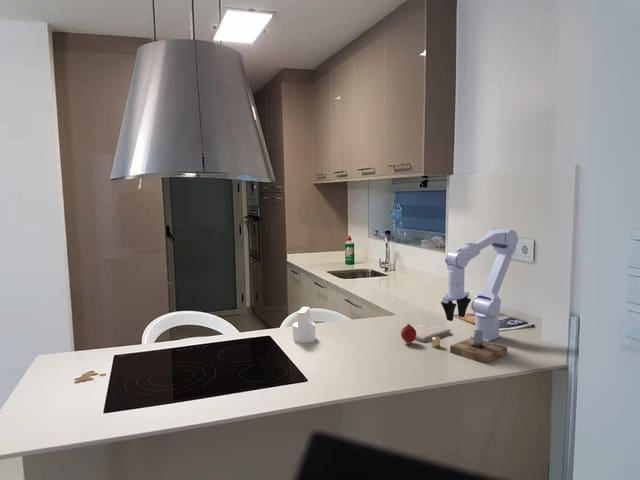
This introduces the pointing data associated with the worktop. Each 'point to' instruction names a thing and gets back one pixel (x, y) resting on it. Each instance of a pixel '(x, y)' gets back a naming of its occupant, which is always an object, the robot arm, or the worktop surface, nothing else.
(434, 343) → the short brass pin
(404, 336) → the onion
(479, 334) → the long steel pin
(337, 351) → the worktop surface
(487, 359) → the walnut hole plate
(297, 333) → the base with upright slab
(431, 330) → the washcloth
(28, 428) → the worktop surface
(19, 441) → the worktop surface
